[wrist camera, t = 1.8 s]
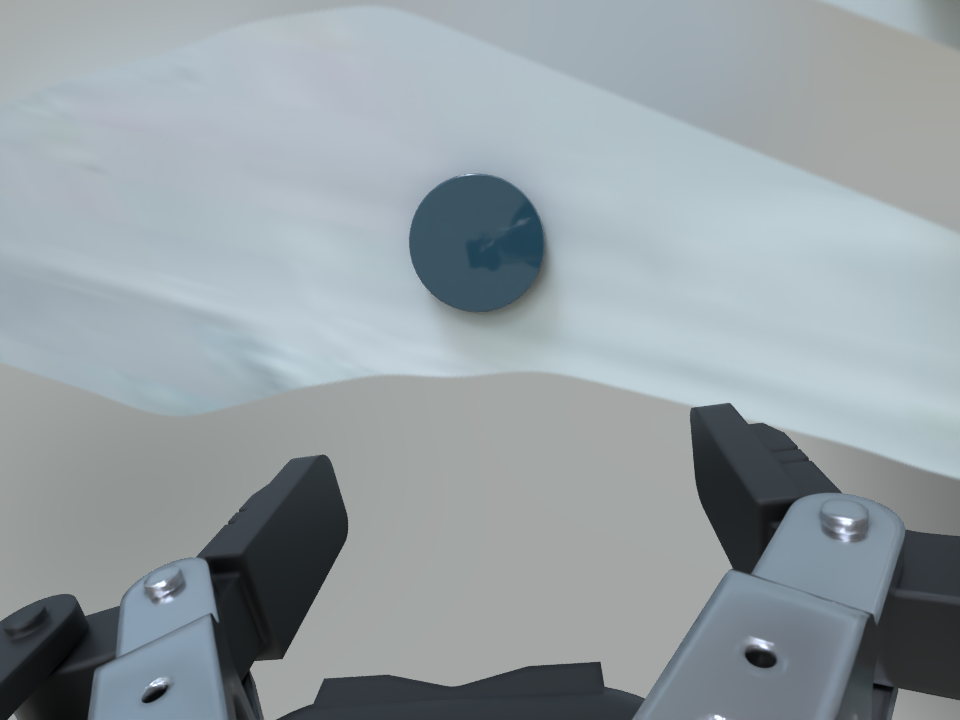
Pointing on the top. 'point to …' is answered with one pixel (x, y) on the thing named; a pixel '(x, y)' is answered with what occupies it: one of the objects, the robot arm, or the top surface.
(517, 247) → the plate
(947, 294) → the top surface
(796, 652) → the robot arm
